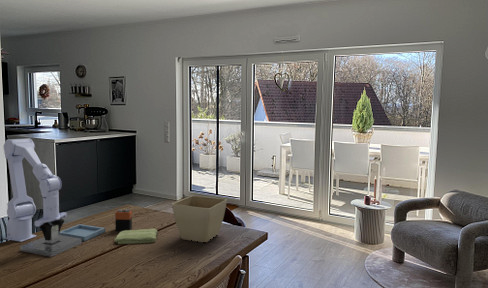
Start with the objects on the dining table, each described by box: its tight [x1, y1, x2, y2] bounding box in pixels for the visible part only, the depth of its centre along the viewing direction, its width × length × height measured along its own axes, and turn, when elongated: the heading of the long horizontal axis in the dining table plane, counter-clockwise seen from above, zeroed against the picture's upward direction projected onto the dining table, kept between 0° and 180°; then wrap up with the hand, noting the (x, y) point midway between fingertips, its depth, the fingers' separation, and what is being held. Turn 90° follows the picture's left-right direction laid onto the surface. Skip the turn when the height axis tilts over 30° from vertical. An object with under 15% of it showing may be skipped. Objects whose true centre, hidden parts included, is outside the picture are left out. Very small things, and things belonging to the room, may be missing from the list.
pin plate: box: [19, 235, 83, 258], centre depth 153 cm, size 16×16×2 cm
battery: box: [114, 208, 133, 232], centre depth 177 cm, size 4×7×10 cm, turn 91°
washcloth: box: [114, 228, 158, 245], centre depth 166 cm, size 13×18×3 cm
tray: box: [59, 223, 106, 242], centre depth 169 cm, size 15×13×2 cm
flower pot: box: [171, 195, 228, 243], centre depth 169 cm, size 19×19×17 cm
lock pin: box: [45, 223, 59, 245], centre depth 153 cm, size 4×4×9 cm
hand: (51, 238), depth 153 cm, fingers closed on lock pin, 4 cm apart
